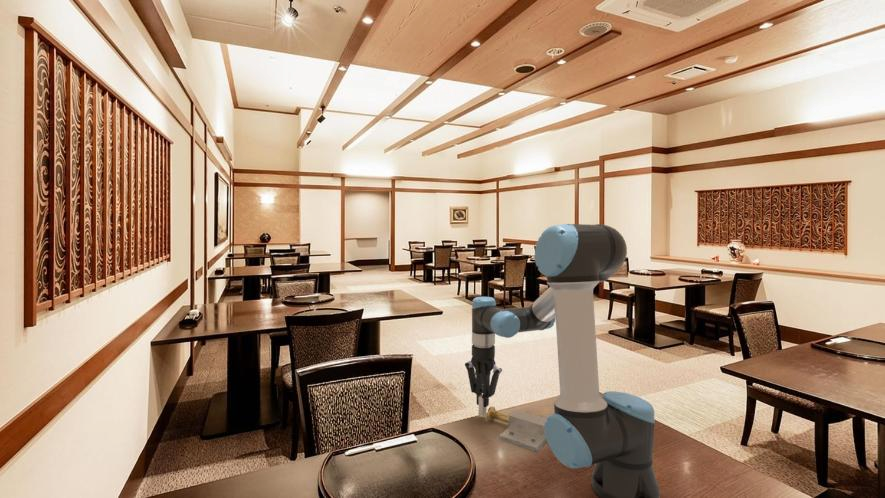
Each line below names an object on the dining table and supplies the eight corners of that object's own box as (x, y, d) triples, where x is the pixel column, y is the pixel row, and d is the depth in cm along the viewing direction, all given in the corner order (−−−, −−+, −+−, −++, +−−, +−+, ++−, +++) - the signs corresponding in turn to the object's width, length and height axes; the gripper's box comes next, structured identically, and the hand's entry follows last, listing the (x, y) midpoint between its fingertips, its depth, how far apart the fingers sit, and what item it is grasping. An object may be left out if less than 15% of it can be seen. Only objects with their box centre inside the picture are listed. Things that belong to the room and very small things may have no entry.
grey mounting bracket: (558, 428, 134) (559, 412, 133) (537, 452, 120) (537, 435, 119) (523, 417, 140) (523, 403, 140) (499, 439, 127) (499, 422, 126)
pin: (529, 428, 132) (530, 415, 132) (523, 434, 129) (524, 420, 129) (493, 417, 140) (493, 404, 140) (486, 422, 136) (486, 409, 136)
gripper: (506, 345, 137) (505, 416, 139) (472, 338, 145) (471, 406, 146) (495, 351, 131) (494, 425, 133) (460, 343, 139) (459, 414, 140)
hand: (482, 415), depth 140 cm, fingers closed
